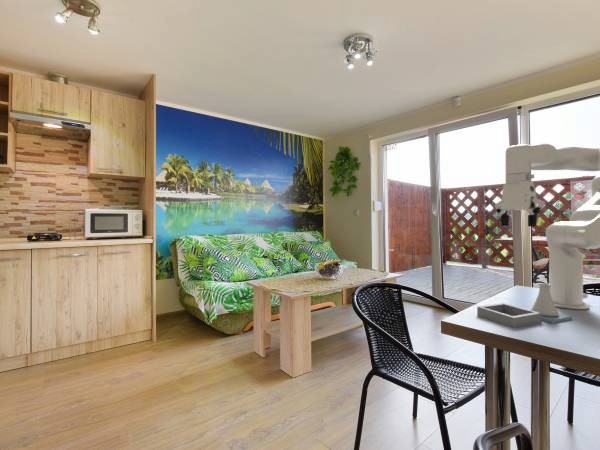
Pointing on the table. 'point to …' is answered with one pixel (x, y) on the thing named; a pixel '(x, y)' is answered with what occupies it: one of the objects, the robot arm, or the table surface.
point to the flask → (545, 301)
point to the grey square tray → (519, 318)
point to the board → (555, 318)
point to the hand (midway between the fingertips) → (518, 226)
